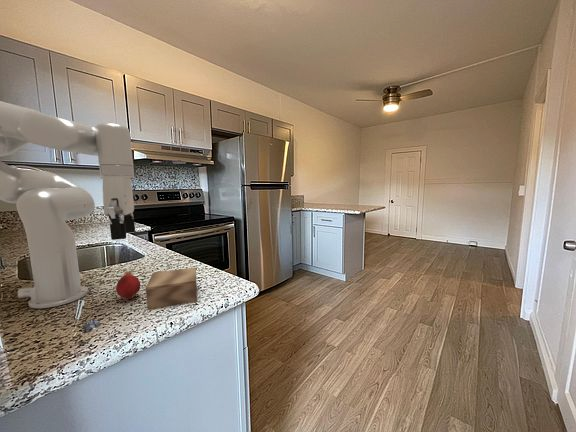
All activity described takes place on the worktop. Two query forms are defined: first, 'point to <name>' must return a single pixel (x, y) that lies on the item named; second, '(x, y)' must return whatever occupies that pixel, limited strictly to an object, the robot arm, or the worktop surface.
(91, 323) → the blueberries
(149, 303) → the walnut block
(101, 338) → the worktop surface
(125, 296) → the onion
